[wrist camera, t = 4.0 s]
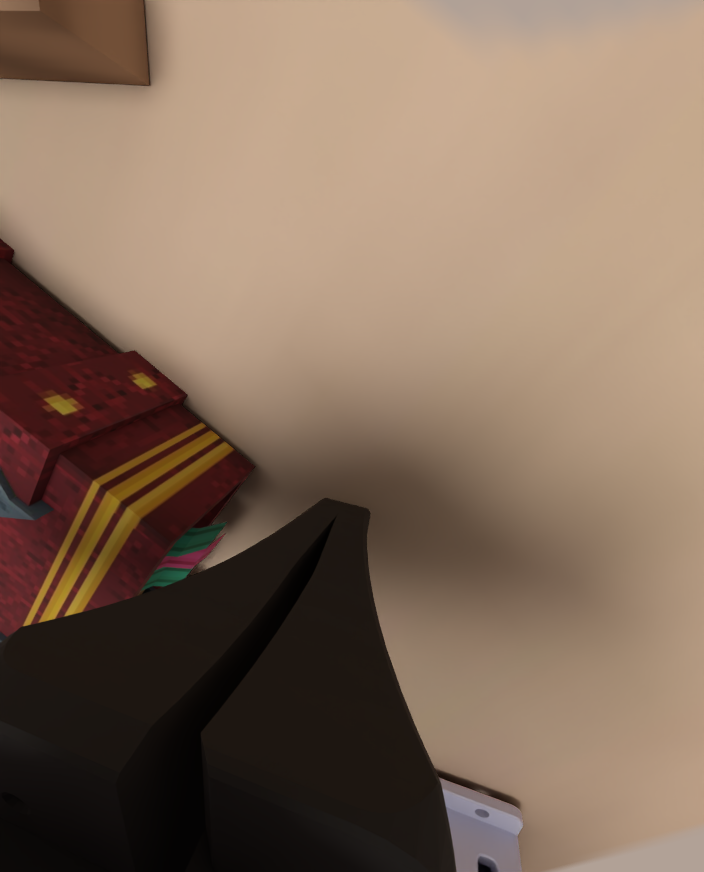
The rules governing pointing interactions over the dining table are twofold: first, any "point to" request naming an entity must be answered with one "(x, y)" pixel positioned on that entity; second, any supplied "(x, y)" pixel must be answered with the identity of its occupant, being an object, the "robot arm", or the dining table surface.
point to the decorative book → (94, 466)
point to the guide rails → (74, 41)
